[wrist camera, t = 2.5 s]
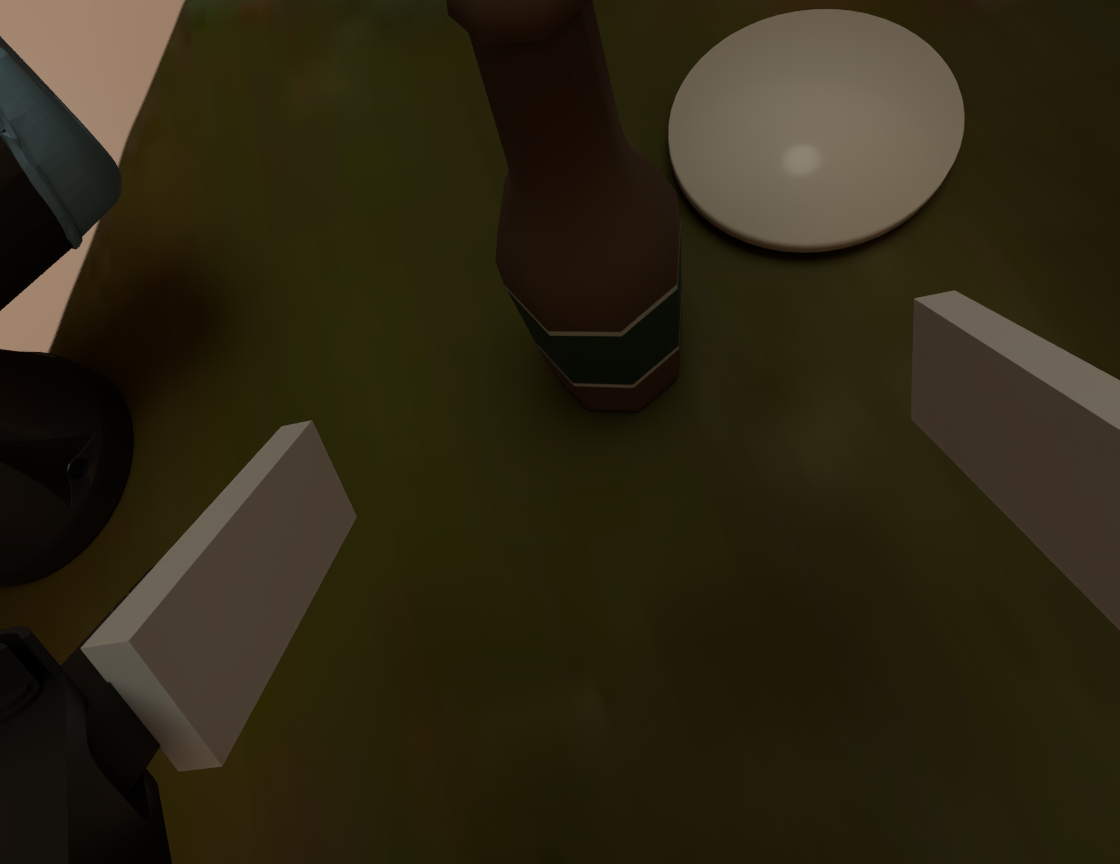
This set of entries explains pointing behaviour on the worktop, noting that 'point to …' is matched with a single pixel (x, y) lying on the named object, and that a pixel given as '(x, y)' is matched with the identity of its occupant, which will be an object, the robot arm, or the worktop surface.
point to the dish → (815, 130)
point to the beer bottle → (578, 205)
